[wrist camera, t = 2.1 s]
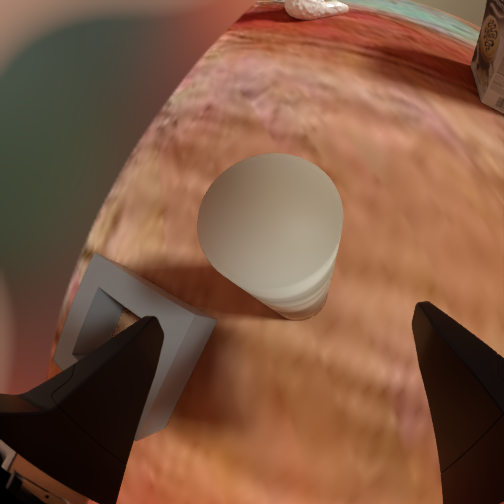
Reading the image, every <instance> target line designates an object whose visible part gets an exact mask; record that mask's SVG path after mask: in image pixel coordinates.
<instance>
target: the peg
mask: <svg viewBox="0 0 504 504" xmlns="http://www.w3.org/2000/svg"><path fill="white" fill-rule="evenodd" d="M342 226H343V207H342V202H341V198H340V195H339V193H338V191H337V189H336V187H335V185H334V183H333V182H332V180H331V179H330V178H329V177H328V176H327V174H326V173H325V172H323V171H322V170H321V169H320V168H319V167H317V166H316V165H314V164H313V163H311V162H309V161H307V160H305V159H303V158H300V157H297V156H293V155H289V154H281V153H269V154H261V155H257V156H253V157H250V158H247V159H244V160H242V161H240V162H238V163H236V164H234V165H233V166H231V167H230V168H228V169H227V170H226V171H224V172H223V173H222V174H221V175H220V176H219V177H218V178H217V179H216V180H215V181H214V182H213V183H212V185H211V186H210V188H209V189H208V191H207V192H206V194H205V196H204V198H203V200H202V203H201V206H200V209H199V214H198V221H197V230H198V237H199V242H200V245H201V248H202V250H203V252H204V254H205V256H206V258H207V259H208V261H209V262H210V263H211V265H212V266H213V267H214V268H215V269H216V270H217V271H218V272H219V273H221V274H222V275H223V276H225V277H226V278H227V279H229V280H230V281H232V282H233V283H235V284H236V285H237V286H239V287H240V288H242V289H243V290H245V291H246V292H247V293H249V294H250V295H252V296H253V297H255V298H256V299H258V300H259V301H261V302H262V303H264V304H265V305H266V306H268V307H269V308H271V309H272V310H274V311H275V312H277V313H278V314H280V315H281V316H283V317H285V318H287V319H289V320H295V321H301V320H306V319H309V318H311V317H313V316H315V315H316V314H317V313H318V312H319V311H320V310H321V309H322V307H323V306H324V304H325V302H326V299H327V295H328V290H329V286H330V282H331V278H332V274H333V269H334V265H335V260H336V256H337V251H338V247H339V242H340V237H341V232H342Z"/></svg>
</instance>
